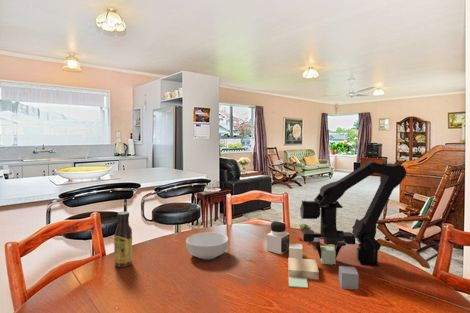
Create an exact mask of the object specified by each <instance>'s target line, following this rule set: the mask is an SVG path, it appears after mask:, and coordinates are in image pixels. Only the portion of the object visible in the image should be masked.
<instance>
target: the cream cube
mask: <svg viewBox="0 0 470 313" xmlns="http://www.w3.org/2000/svg"><path fill="white" fill-rule="evenodd" d="M303 251H304V250H303V244H302V243H290V242H289V250H288V258H300V259H304V258H303V253H304V252H303Z"/></svg>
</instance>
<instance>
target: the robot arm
mask: <svg viewBox="0 0 470 313" xmlns="http://www.w3.org/2000/svg"><path fill="white" fill-rule="evenodd" d="M373 174H377V175H378V174H379V176H380V177H379V178H380V180H379V182H380V183H379V186H378V188H377V190H376V191H375V194H374V195H373V198H372V200H371V201H370V204H369V206H368V208H367V210H366V212H365V214H364V216H363V217H362V218H361V219H360V220H359V219H358V218H356V219H355V222H354V224H353V225H352V227H351V229H352V231H344V230H338V228H337V209H343V206H342V205H341V204H340V203H339V201H338V200H340V199H341V197H343V195H344V194H345V193H346V192H347V191H348V190H349V189H350V188H352V187H354V186H355V185H357V184H358V183H360V182H362V181H363V180H365V179H366V178H368V177H369V176H372V175H373ZM406 176H407V170H406V168H405V167H404V165H400V164H397V163H390V162H389V163H387V164H383V163H382V164H381V163H377V162H374V161H370V160H369V161H366V162H365V163H364V164H363V165H361V166H360V167H358V168H357V169H355V170H353V171H352V172H350V173H349V174H347V175H345V176H344V177H342V178H340V179H339V180H336V181H332V182H330V183H326V184H325V185H323V186H321V188H320V190H319V193H318V195H317V196H316V197H315V198H314V199H313V200H301V203H300V208H299V209H300V218H301V220H318V219H319V218H320V230H319V232H320V233H315V232H314V233H313V231H314V230H313V229H311V230H304V231H303V234H302V241H303V242H305V243H311V244H312V245H315V248H316V250H317V252H318V256H319V259H321V248H320V246H321V242H320V240H323V244H324V245H325V246H329V245H332V246H334V249H335V251H336V259H337V257H338V256H339V253H340V250H341V249H342V248H343V247H344V246H345V247H346V245H356V241H357V242H358V247H356V259H357V261H358V262H359V264H360V265H365V266H376V267H377V266H379V265H380V263H379V262H378V257H379V256H378V254H379V251H380V248H381V246H382V245H381V243H380V242H379V241H378V240H377V239H375V238H376V234H377V225H378V224H377V223H378V222H379V219H380V218H381V215H382V213H383V211H384V209H385V207H386V205H387V203H388V201H389V199H390V197H391V195H392V192H393V191H394V189H396V188H397V187H398V186H399V185H401V184H402V182H403V181H404V179H405V178H406Z"/></svg>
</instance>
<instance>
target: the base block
mask: <svg viewBox="0 0 470 313" xmlns="http://www.w3.org/2000/svg"><path fill="white" fill-rule="evenodd" d="M287 268H288V269H287V270H288V271H287V274H288V276H287V277H300V278H307V280H308V279H309V280H317V281H318V280H319V276H320V274H319V273H320V272H319V267H318V264H317V260H316V259H310V258H303V259H300V258H289V257H288V258H287Z"/></svg>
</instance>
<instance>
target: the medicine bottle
mask: <svg viewBox="0 0 470 313" xmlns="http://www.w3.org/2000/svg"><path fill="white" fill-rule="evenodd" d="M286 226H287V225H286V223H285V222H283V221H282V220H274V221H272V222H270V232H269V233H267V234H266V251H267V252H270V253H275V254H277V255H283V254H285V253H286V252H287V251H289V243H290V233H289V232H286Z"/></svg>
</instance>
